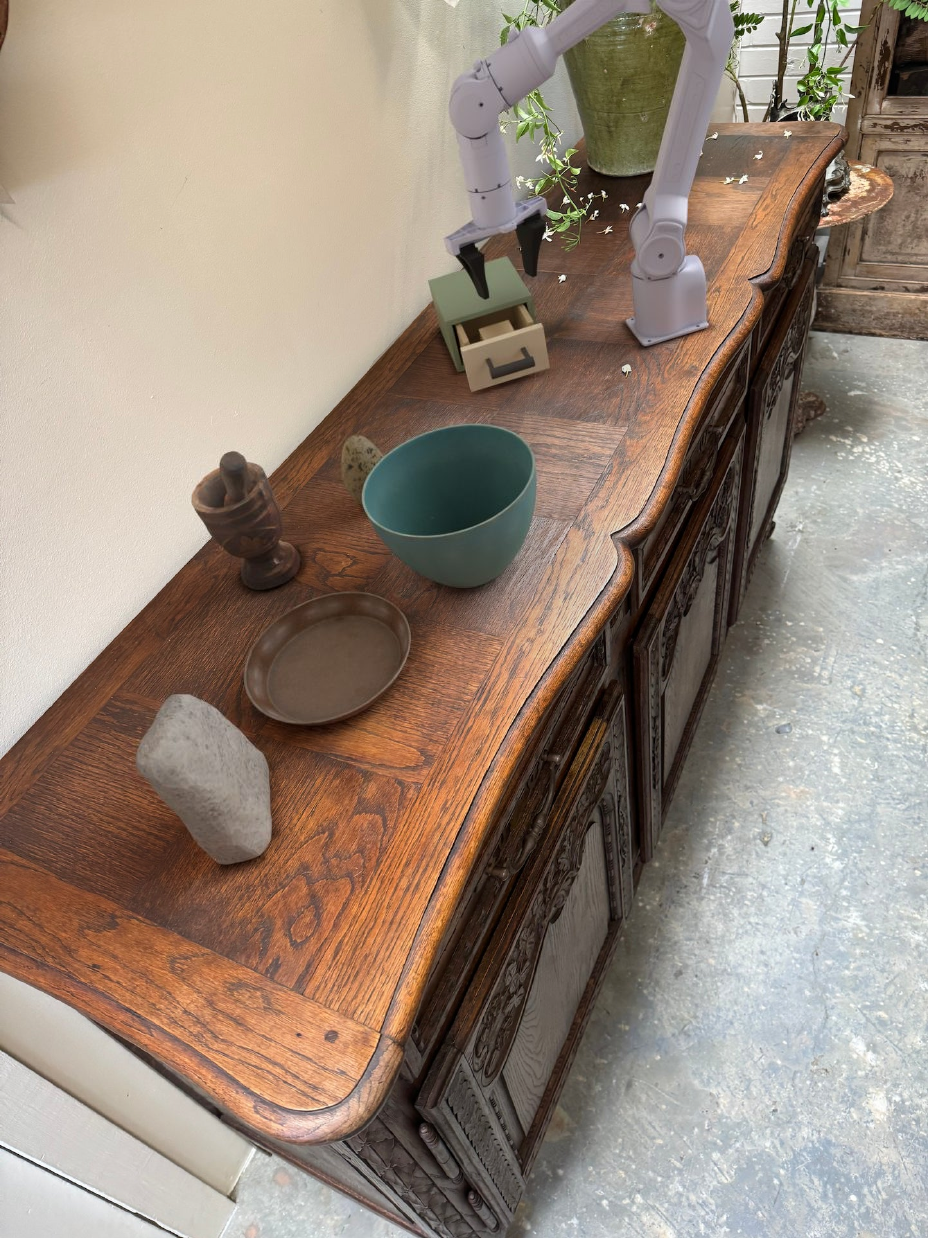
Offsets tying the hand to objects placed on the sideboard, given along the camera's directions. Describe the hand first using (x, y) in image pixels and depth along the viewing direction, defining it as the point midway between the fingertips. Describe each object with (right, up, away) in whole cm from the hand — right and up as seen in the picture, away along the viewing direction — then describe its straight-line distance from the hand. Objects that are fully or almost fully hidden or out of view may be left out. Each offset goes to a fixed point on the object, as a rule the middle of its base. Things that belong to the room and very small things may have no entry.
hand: (507, 285), depth 115 cm
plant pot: (-5, -40, -21) cm, 45 cm away
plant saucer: (-19, -52, -28) cm, 62 cm away
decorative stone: (-26, -64, -37) cm, 79 cm away
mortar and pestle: (-28, -41, -15) cm, 51 cm away
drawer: (0, -10, +4) cm, 11 cm away
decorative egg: (-17, -31, -10) cm, 37 cm away
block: (-1, -9, +3) cm, 10 cm away
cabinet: (-2, -3, +12) cm, 13 cm away
